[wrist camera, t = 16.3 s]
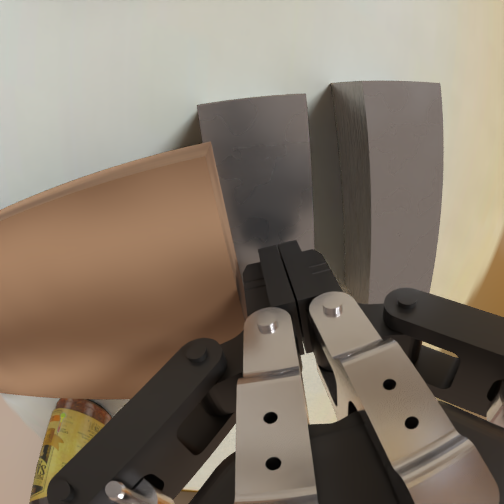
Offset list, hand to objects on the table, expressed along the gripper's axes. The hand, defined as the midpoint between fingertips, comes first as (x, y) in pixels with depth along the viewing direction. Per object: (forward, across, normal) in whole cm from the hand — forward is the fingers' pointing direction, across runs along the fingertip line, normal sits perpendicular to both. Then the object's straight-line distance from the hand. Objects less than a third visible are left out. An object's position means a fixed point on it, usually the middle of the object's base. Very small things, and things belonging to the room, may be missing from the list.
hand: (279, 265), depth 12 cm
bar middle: (+5, 0, 0) cm, 5 cm away
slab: (+2, +11, 0) cm, 11 cm away
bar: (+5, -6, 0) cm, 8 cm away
